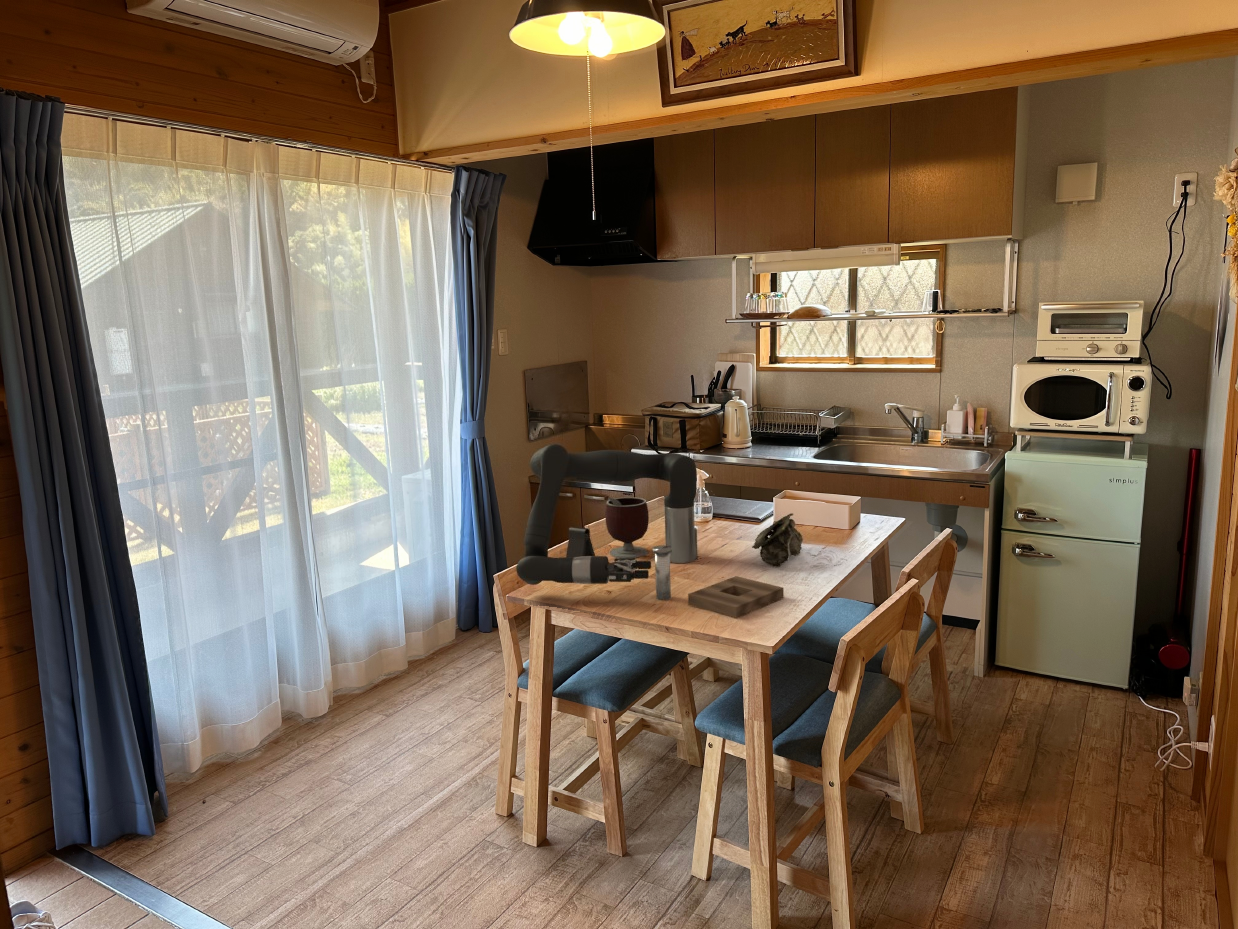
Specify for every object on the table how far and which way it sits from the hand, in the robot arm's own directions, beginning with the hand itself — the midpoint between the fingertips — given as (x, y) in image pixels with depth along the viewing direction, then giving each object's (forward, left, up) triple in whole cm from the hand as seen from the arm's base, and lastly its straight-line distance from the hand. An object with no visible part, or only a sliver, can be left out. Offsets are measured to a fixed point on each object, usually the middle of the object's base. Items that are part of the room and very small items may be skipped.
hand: (649, 569), depth 232 cm
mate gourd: (-26, -36, -8) cm, 45 cm away
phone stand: (-8, -38, -8) cm, 40 cm away
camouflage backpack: (-51, +4, -8) cm, 52 cm away
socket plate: (-12, +20, -8) cm, 24 cm away
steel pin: (-2, +3, -8) cm, 9 cm away
